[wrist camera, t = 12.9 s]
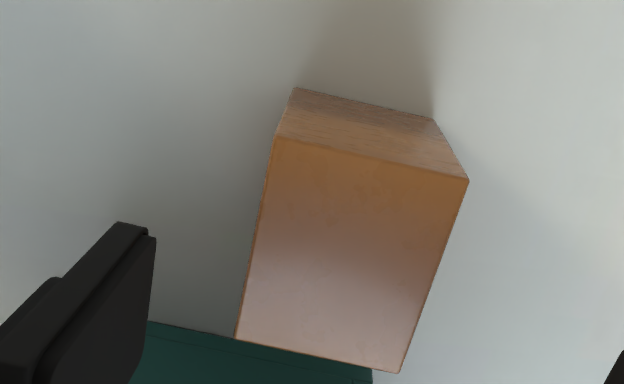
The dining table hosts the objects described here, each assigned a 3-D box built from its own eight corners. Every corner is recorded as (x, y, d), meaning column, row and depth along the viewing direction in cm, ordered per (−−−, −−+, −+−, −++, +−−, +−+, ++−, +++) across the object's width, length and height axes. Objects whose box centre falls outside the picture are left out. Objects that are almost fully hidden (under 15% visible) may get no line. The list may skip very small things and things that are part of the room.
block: (293, 85, 16) (273, 134, 11) (435, 119, 16) (471, 180, 12) (260, 245, 18) (232, 340, 14) (385, 273, 18) (399, 376, 14)
